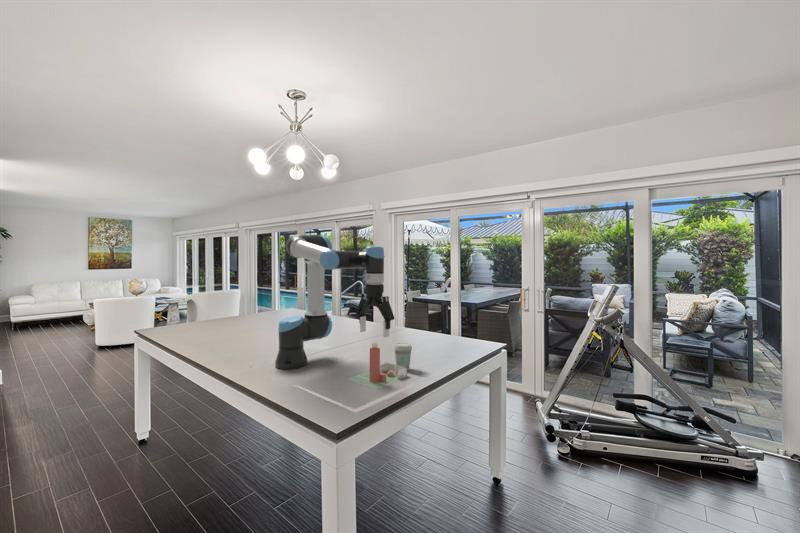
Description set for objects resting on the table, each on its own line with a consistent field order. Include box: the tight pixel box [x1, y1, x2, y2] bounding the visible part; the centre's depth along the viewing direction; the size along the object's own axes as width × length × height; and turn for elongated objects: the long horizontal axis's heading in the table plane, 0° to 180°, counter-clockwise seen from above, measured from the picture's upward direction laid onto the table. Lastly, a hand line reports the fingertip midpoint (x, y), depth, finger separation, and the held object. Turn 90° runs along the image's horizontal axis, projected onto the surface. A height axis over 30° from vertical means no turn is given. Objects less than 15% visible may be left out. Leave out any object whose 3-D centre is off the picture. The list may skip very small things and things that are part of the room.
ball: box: [386, 370, 396, 378], centre depth 153 cm, size 4×4×4 cm
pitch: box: [346, 370, 400, 391], centre depth 148 cm, size 18×14×1 cm
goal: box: [380, 361, 408, 380], centre depth 155 cm, size 12×6×5 cm, turn 50°
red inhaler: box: [369, 341, 387, 383], centre depth 147 cm, size 7×5×16 cm
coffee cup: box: [393, 342, 413, 372], centre depth 165 cm, size 8×8×12 cm
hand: (374, 334), depth 146 cm, fingers open, 13 cm apart
